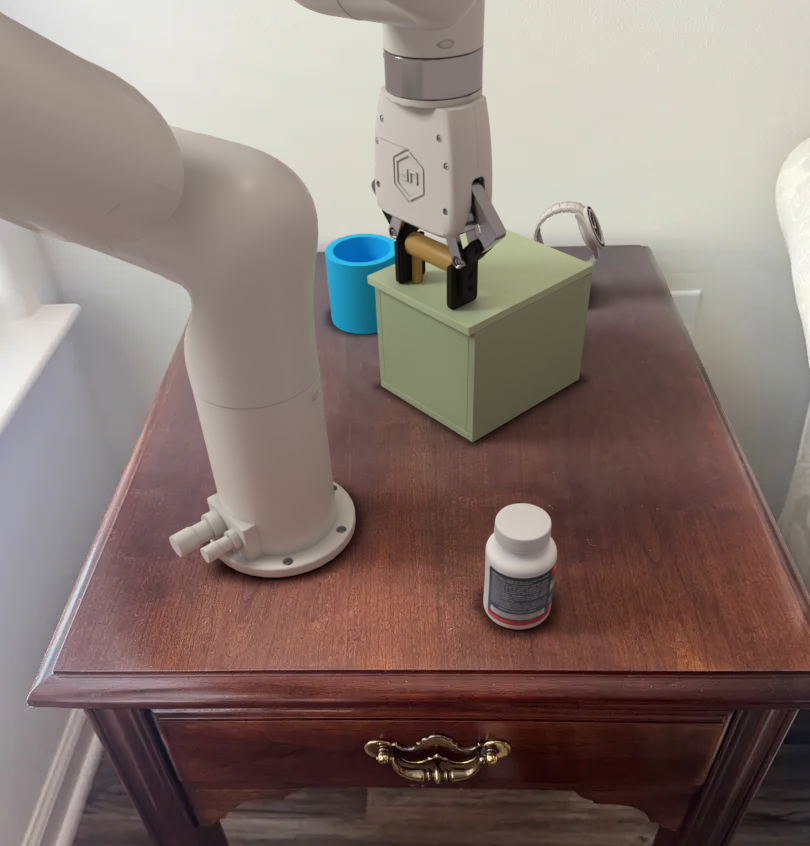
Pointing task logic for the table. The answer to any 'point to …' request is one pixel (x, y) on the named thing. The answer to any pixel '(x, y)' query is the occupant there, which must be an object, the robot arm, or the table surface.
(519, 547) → the pill bottle
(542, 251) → the lid
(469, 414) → the chest
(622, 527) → the table surface
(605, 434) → the table surface
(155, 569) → the table surface
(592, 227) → the watch
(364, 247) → the mug
